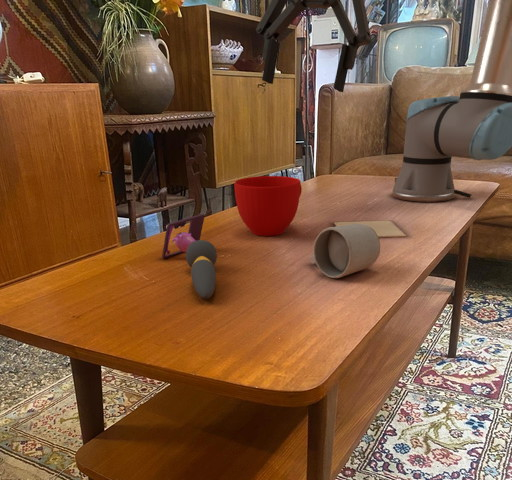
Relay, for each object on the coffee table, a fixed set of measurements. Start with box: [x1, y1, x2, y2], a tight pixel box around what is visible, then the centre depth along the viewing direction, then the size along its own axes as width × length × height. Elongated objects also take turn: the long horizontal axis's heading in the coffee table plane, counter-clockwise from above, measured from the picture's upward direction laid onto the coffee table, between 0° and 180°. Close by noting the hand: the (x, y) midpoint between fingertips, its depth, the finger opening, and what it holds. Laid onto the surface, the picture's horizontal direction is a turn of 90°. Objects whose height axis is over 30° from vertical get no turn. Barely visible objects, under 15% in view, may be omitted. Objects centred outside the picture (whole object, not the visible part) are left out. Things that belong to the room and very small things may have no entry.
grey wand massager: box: [185, 239, 218, 300], centre depth 79 cm, size 20×5×5 cm, turn 12°
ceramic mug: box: [309, 224, 381, 279], centre depth 81 cm, size 11×8×8 cm
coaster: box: [333, 220, 407, 238], centre depth 105 cm, size 12×12×1 cm
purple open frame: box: [161, 213, 206, 260], centre depth 91 cm, size 7×5×9 cm
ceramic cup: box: [233, 175, 303, 237], centre depth 105 cm, size 13×17×10 cm
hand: (301, 86), depth 89 cm, fingers open, 13 cm apart
